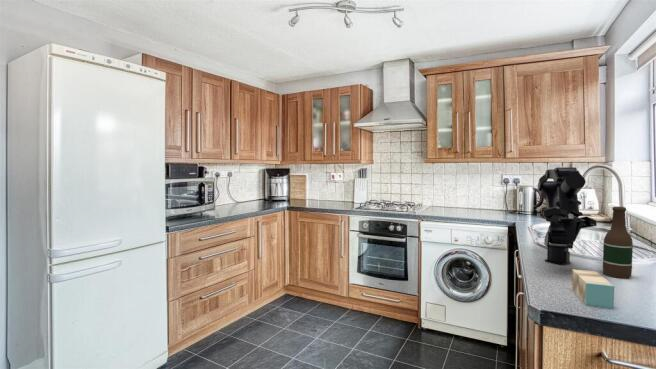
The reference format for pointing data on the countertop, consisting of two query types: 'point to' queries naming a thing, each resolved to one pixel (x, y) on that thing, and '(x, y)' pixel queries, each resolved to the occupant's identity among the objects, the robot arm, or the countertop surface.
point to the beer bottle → (618, 247)
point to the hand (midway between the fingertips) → (572, 241)
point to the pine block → (593, 288)
